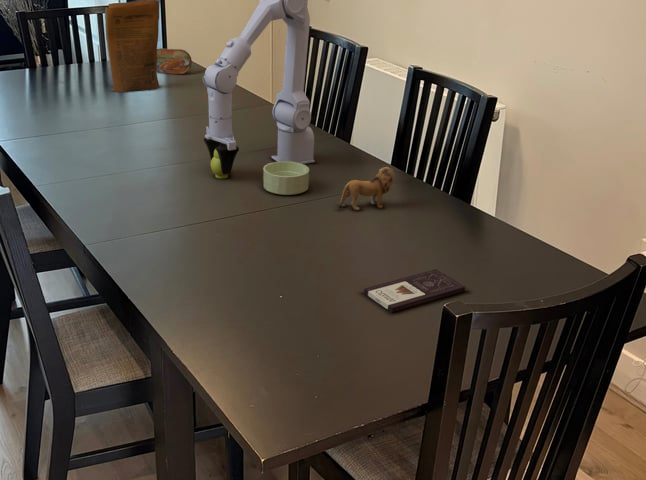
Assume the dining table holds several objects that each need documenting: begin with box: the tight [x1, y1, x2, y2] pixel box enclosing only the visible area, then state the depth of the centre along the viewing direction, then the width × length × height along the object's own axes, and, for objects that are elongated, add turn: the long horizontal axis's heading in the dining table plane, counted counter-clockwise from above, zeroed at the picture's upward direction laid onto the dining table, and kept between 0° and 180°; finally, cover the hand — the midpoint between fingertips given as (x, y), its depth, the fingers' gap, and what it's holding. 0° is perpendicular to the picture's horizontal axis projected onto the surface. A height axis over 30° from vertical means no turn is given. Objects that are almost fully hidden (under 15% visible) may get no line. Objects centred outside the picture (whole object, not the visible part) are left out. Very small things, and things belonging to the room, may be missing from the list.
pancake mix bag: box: [104, 0, 160, 93], centre depth 274 cm, size 7×19×28 cm, turn 118°
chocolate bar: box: [363, 269, 466, 313], centre depth 162 cm, size 9×1×18 cm
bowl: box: [262, 161, 311, 196], centre depth 207 cm, size 11×11×5 cm
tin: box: [157, 47, 193, 75], centre depth 300 cm, size 15×3×8 cm, turn 80°
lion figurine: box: [336, 166, 395, 211], centre depth 197 cm, size 15×5×9 cm, turn 116°
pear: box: [210, 142, 229, 180], centre depth 211 cm, size 6×6×9 cm
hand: (221, 169), depth 213 cm, fingers open, 6 cm apart
